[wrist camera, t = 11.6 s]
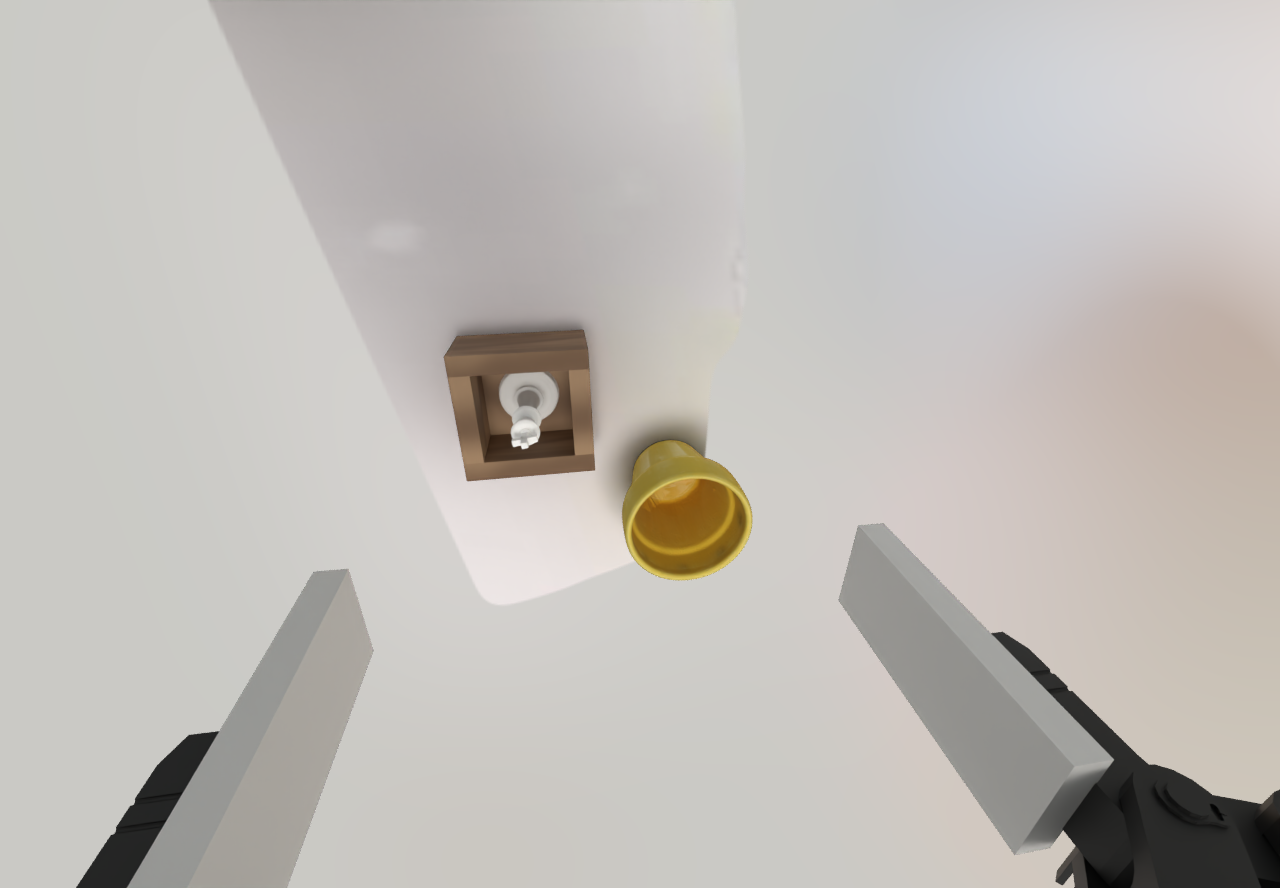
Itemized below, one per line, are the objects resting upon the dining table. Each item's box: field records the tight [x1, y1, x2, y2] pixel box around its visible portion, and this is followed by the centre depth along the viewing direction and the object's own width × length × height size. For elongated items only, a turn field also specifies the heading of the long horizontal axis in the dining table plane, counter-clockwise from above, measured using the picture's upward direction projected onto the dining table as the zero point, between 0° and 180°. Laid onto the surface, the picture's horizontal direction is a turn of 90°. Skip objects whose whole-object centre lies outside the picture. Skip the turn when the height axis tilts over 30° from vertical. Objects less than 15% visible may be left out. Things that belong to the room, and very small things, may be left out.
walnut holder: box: [444, 330, 595, 481], centre depth 41 cm, size 10×10×6 cm
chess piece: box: [499, 372, 559, 449], centre depth 39 cm, size 5×5×10 cm
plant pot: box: [622, 440, 752, 580], centre depth 45 cm, size 10×10×10 cm
